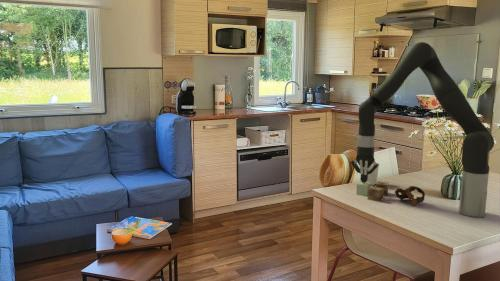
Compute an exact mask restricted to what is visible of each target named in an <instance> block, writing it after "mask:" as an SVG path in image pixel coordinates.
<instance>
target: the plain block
mask: <svg viewBox="0 0 500 281" xmlns="http://www.w3.org/2000/svg"><path fill="white" fill-rule="evenodd" d="M370 187H372V185H371V183H367V182H366V183H362V181H361V180H360V181H359V182H357V183H356V190H355V191H356V192H355V194H356V195H357V196H364V197H368V188H370Z"/></svg>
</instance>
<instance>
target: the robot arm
mask: <svg viewBox="0 0 500 281" xmlns="http://www.w3.org/2000/svg"><path fill="white" fill-rule="evenodd" d="M418 68H419V69H420V70H421V71H422V73H423V74H424V75H425V76H426V78H427V80H428V81H429V84H430V87H431V90H432V92H433V94H434V97H435V99H436V100H437V102H438V103H439V105H440V107H441V108H442V109H443V111H445V113H446V114H447V115H448V116H449V117H450V118H451V119H452V120H454V121H455V122H456V123H457V124H458V125H459V126H460V128H461V129H462V130H463V132H464V134H465V137H464V138H463V142H462V147H461V148H462V150H461V151H462V152H461V164H462V173H461V174H462V175H461V184H460V186H461V187H460V196H459V206H458V207H459V208H458V213H460V214H461V215H464V216H467V217H473V218H484V217H485V215H486V209H487V208H486V207H487V199H488V198H487V197H488V183H489V175H490V165H489V164H488V159H489V158H488V156H489V154H488V153H489V152H490V151H492V149H493V148H494V146H495V139H494V136H493V135H492V134H491V132H490V131H489V130H488V128H487V127H486V126H485V125H484V124H483V122H482V121H481V120H480V118H479V117H478V116H477V114H476V113H475V111H474V109H473V107H472V106H471V105H470V103H469V102H468V101H469V100H467V98H466V96H465V95H464V92H462V90H461V89H460V87H459V86H458V84H457V83H456V81H455V80H454V79H453V78H452V77H451V75H450V74H449V73H448V72H447V71H446V70H445V67H444V66H443V64H442V63H441V61H440V59H439V57H438V55H437V53H436V50H435V48H433V46H431V45H430V44H429V43H427V42H425V41H421V42H417V43H415V44H413V46H411V48H410V49H409V51H408V52H407V53H406V55H405V56H404V58H402V61H400V63H399V64H398V65H397V67H396V68H395V69H394V70H393V71H392V72H391V73H390V75H388V76H387V77H386V79H384V80H383V81H382V82H381V83H380V85H378V86H377V88H376V89H374V91H373V93H372V94H371V95H370V96H369V97H368V98H367V99H366V100H364V101H363V102H361V103H360V104H359V107H358V124H359V125H358V135H357V143H356V144H357V147H356V156H355V159H354V160H351V161H350V164H351V166H352V167H353V168H354V170H355V171H356V173H357V174H360V181H361V182H362V183H366V182H367V180H368V174H371V173H372V172H373V171H374V170H375V169H376V168H377V167H378V166H380V164H379V163H377V162H376V159H375V145H376V144H375V142H376V139H375V138H376V137H375V135H376V132H375V131H376V124H375V114H376V113H377V112H378V111H379V110H380V109H381V107H382V106H384V104H386V102H389V100H390V99H391V98H392V97H393V96H394V95H395V94H396V92H398V91H399V90H400V88H401V87H402V86H403V84H404V82H405V81H406V80H407V79H408V77H409V76H410V75H411V74H412V73H413V72H414V71H415V70H417V69H418ZM372 164H373V168H372V169H371V170H370V171H369V167H370V166H371V165H372ZM378 168H379V167H378Z"/></svg>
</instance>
